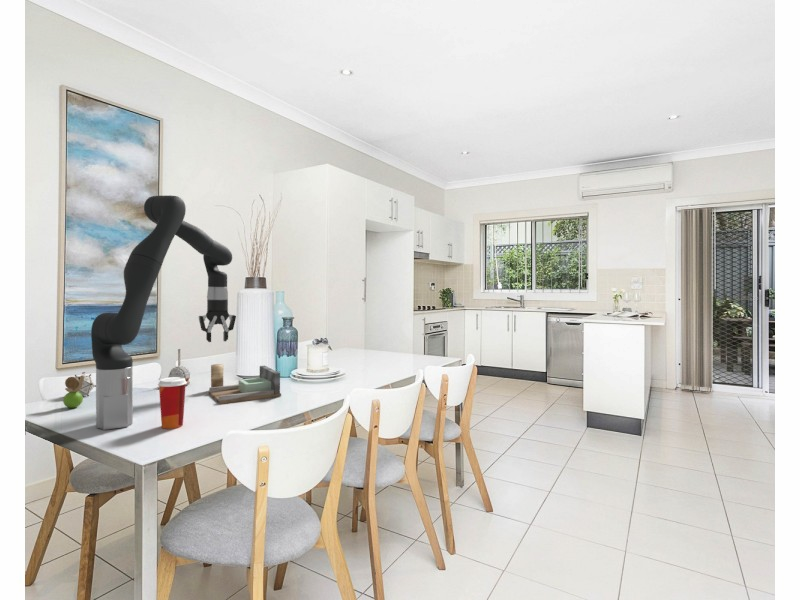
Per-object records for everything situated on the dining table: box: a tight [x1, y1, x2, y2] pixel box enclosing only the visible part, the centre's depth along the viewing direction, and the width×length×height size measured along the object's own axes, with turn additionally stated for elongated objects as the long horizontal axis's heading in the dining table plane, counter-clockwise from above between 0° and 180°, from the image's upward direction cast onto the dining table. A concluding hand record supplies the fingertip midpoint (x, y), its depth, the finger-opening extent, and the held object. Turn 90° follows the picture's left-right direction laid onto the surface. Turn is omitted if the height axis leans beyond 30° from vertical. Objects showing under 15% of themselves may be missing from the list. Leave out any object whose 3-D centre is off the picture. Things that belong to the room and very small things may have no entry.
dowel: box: [210, 363, 224, 387], centre depth 182 cm, size 4×4×10 cm
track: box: [208, 365, 282, 405], centre depth 175 cm, size 18×22×9 cm
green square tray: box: [238, 377, 271, 393], centre depth 178 cm, size 10×10×4 cm
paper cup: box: [157, 377, 187, 430], centre depth 137 cm, size 8×8×14 cm
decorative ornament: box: [167, 348, 191, 386], centre depth 190 cm, size 8×8×15 cm
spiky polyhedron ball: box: [74, 373, 96, 397], centre depth 169 cm, size 9×8×10 cm
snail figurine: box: [62, 371, 86, 409], centre depth 154 cm, size 5×6×12 cm
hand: (217, 341), depth 182 cm, fingers open, 5 cm apart
